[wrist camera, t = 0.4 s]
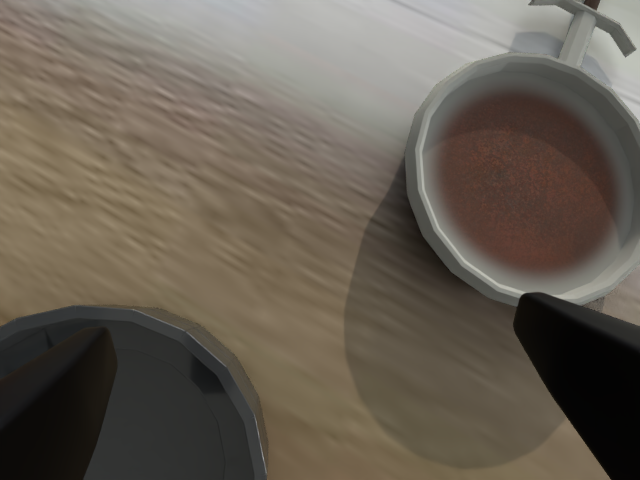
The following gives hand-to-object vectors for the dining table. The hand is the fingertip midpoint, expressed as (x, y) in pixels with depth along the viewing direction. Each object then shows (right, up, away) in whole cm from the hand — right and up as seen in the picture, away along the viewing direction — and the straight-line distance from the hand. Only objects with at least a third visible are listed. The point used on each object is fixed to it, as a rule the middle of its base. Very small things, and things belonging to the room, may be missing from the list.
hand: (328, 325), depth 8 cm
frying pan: (+15, +10, +19) cm, 27 cm away
